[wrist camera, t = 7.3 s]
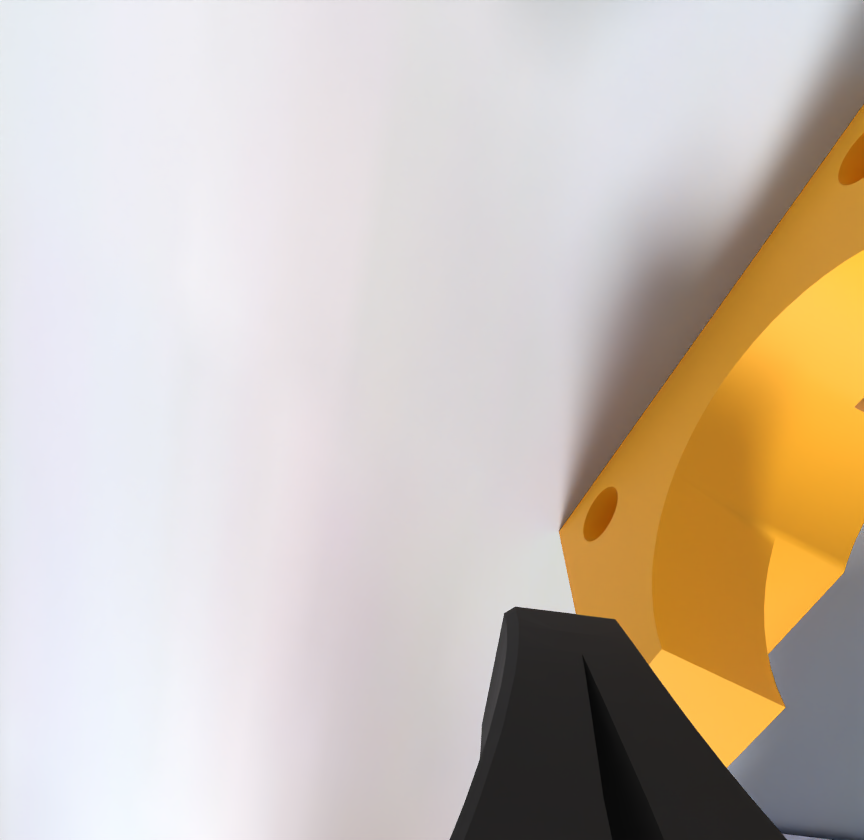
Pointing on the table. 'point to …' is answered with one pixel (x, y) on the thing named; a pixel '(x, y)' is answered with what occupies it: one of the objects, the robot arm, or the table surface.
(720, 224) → the table surface
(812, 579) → the orange notched block
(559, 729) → the robot arm
